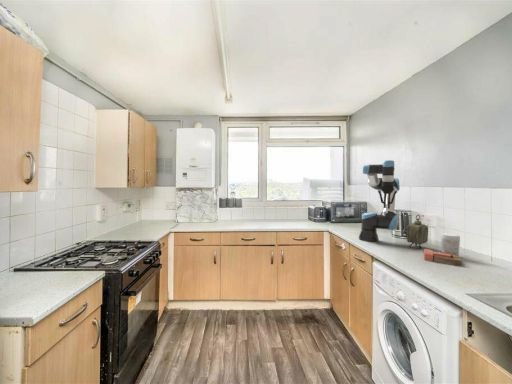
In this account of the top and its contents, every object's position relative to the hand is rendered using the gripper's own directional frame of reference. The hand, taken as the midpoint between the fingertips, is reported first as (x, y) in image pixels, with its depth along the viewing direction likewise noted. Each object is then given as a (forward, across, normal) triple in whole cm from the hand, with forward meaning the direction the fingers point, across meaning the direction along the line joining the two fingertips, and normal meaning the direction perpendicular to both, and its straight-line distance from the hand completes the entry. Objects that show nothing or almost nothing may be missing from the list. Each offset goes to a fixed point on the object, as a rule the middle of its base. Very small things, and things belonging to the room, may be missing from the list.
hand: (386, 212), depth 171 cm
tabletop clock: (+27, +20, +15) cm, 37 cm away
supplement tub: (+27, +38, +4) cm, 46 cm away
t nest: (+26, +35, -10) cm, 45 cm away
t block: (+27, +30, -10) cm, 41 cm away
